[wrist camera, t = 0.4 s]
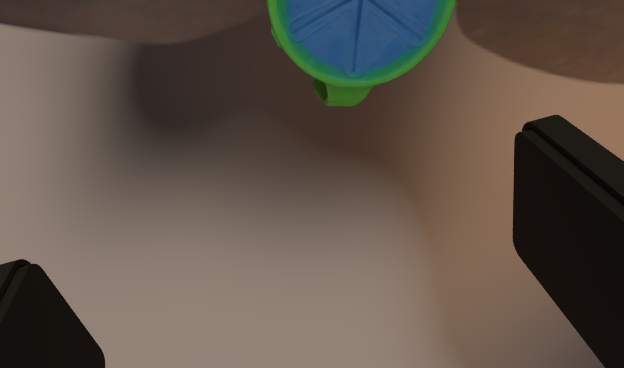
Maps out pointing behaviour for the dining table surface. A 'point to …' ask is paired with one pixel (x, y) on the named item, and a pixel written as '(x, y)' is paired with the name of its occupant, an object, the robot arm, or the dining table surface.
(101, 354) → the robot arm
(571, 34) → the dining table surface
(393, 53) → the snack cup
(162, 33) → the dining table surface
